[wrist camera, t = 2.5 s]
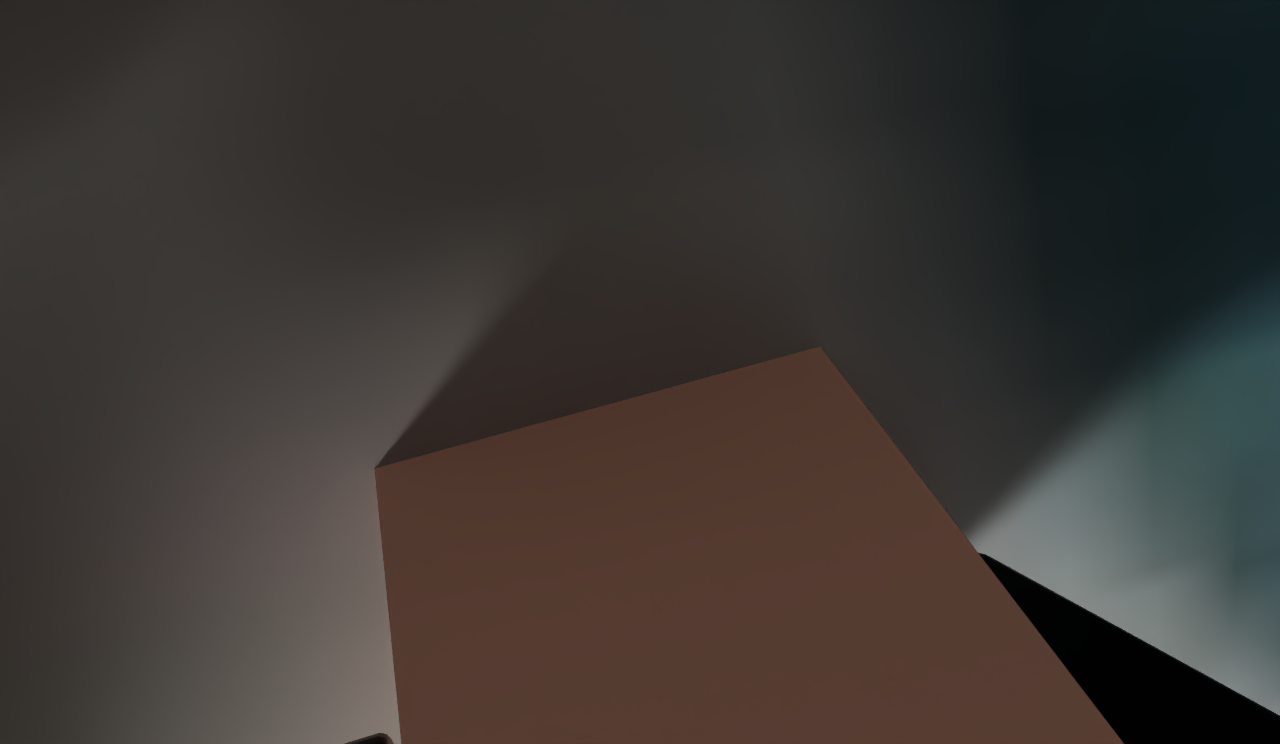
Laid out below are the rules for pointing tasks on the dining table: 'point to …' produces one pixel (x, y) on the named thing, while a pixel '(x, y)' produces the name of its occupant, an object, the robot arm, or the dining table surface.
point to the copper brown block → (705, 583)
